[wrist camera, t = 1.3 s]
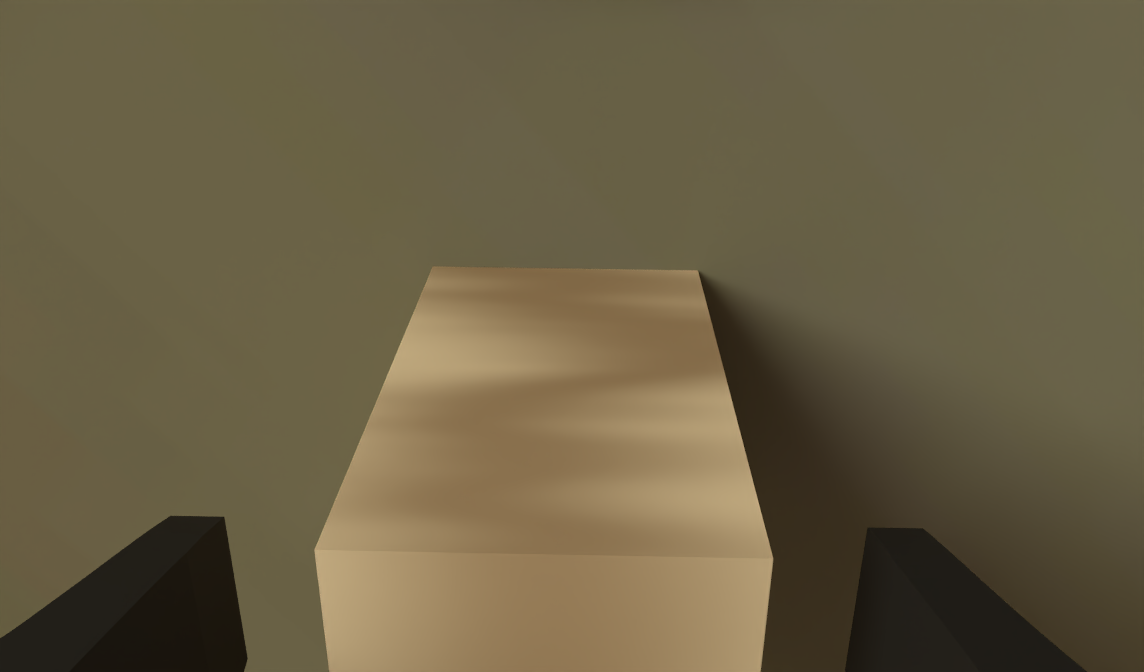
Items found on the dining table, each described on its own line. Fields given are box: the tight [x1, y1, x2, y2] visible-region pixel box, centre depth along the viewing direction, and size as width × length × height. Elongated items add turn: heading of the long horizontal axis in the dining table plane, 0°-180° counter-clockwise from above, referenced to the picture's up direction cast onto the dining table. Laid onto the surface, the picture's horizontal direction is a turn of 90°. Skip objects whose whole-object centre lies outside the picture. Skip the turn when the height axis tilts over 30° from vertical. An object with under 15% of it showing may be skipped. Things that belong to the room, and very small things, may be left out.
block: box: [315, 267, 773, 672], centre depth 13 cm, size 4×4×7 cm
